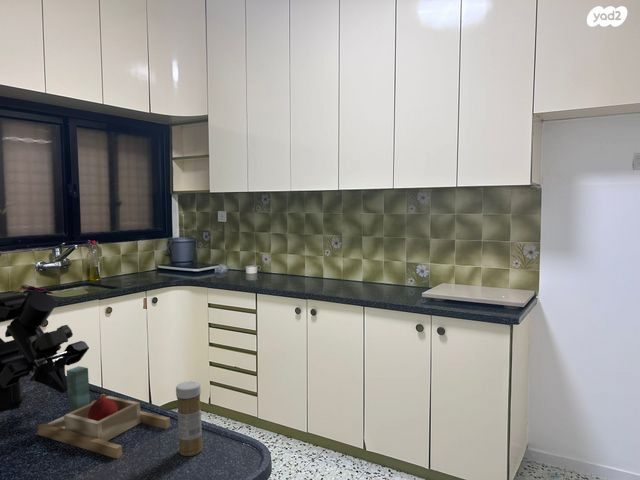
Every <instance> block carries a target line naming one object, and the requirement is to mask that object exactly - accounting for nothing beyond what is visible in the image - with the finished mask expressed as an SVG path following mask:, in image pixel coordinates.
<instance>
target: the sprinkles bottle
mask: <svg viewBox="0 0 640 480" xmlns="http://www.w3.org/2000/svg"><path fill="white" fill-rule="evenodd" d="M175 394H176V395H175V396H176V399H177V425H178V426H177V427H178V437H179V440H178V441H179V448H178V451H179V454H180V455H182V456H184V457H185V456H186V457H192V456H195V455H198V454H200V453H201V452H202V450H203V449H204V448H203V447H204V445H203V436H202V435H203V434H202V432H203V430H202V411H201V409H202V408H201V397H200V396H201V384H200V382H199V381H197V380H196V381H194V380H189V381H183V382H180V383H179V384H177V385H176V387H175Z"/></svg>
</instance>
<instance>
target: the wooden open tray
mask: <svg viewBox="0 0 640 480" xmlns="http://www.w3.org/2000/svg"><path fill="white" fill-rule="evenodd" d="M89 379H90V377H89V368H88V367H85V366H79V365H78V366H76V367H73V368H69V369H67V370H66V382H67V388H68V390H67V400H68V402H67V403H68V413H66V414H63V416H61V417H59V418H57V419H55V420H52V421H50V422H48V423H46V424H47V425H51V426H54V427H58V428H61V429H65V430H68V431H72V432H75V433H79V434H82V435H86V436H89V437H93V438H97V439H100V440H104V441H107V442H109V441H110V440H111V439H113V438H116V437H117V436H119V435H121V434H123V433H124V432H127V431H129V430H130V429H132V428H133V427H135V426H137V425H138V424H142V423H141V413H140V411H141V402H138V401H133V400H130V399H125V398H120V397H115V396H112V395H106V398H108V399H111V400H112V401H113V402H114V403H115V404H116V405H117V407H118V412H116V413H114V414H112V415H110V416H108V417H106V418H104V419H102V420H100V421H95V420H92V419H89V418H88V413H89V410H90V408H91V406H92V405H93V404H94V402H93V403H90V402H91V399H90V383H89V382H90V381H89Z"/></svg>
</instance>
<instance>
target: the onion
mask: <svg viewBox="0 0 640 480" xmlns="http://www.w3.org/2000/svg"><path fill="white" fill-rule="evenodd" d="M106 396H107V394H105V393H101V394H100V396H99V398H98V399H97V400H96V401H95V402H94V404H93V405H92V406H91V408H90V410H89V413H88V418H89V419H92V420H95V421H100V420H102V419H104V418H106V417H108V416H110V415H112V414H114V413H116V412H118V407H117V405H116V404H115V403H114V402H113V401H112V400H111V399H108V398H106Z"/></svg>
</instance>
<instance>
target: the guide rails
mask: <svg viewBox="0 0 640 480" xmlns="http://www.w3.org/2000/svg"><path fill="white" fill-rule="evenodd" d="M95 401H97V400H96V399H94V400H92V401H90V403H93V402H95ZM140 413H141V423H140V424H145V425H148V426H154V427H157V428H160V429H164V430H166V429H168V428H170V427H171V418H170V417H167V416H164V415H159V414H155V413H150V412H147V411H144V410H143V411H142V410H140ZM47 424H48V423H43V422H42V423H41V424H39V425H37V435H38V436H41V437H44V438H48V439H50V440H54V441H58V442H60V443H65V444H68V445H71V446H73V447H77V448H81V449H84V450H88V451H90V452H94V453H97V454H100V455H104V456H106V457H110V458H114V459H116V460H118V459H120V458H121V457H123V445H121V444H117V443H114V442H109V441H104V440H100V439H97V438H93V437H89V436H86V435H82V434H79V433H75V432H72V431H68V430H65V429H61V428H58V427H54V426H51V425H47Z"/></svg>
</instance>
